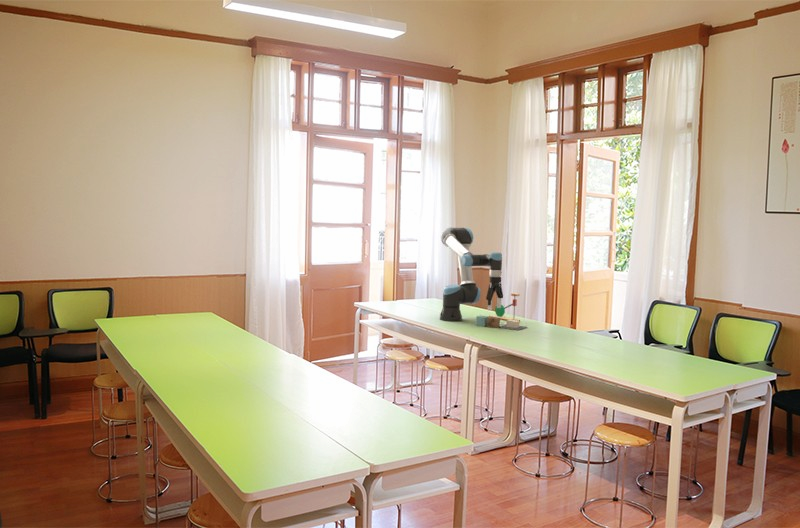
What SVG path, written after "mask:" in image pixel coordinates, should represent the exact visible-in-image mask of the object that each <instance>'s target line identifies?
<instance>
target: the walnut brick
mask: <svg viewBox="0 0 800 528" xmlns="http://www.w3.org/2000/svg"><path fill="white" fill-rule="evenodd" d="M500 323H501V320H500V318H497V317H488V318H487V326H486V327H487V328H494V329H499V328H498V327H500V326H501V325H500Z"/></svg>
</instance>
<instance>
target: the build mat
mask: <svg viewBox="0 0 800 528" xmlns="http://www.w3.org/2000/svg"><path fill="white" fill-rule="evenodd" d="M520 323H521V320H520V321H516V320H507V321H506V324H507V325H503V326H502V325H500V327H498V328H497V329H505V330H512V331H513V330H514V331H521V330H524V329H526V328H528V326H523V325H521V324H520Z"/></svg>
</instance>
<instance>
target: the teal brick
mask: <svg viewBox="0 0 800 528" xmlns="http://www.w3.org/2000/svg"><path fill="white" fill-rule="evenodd" d="M488 317H489V315H476V317H475V318H476V319H475V320H476V321H475V325H476V326H477V327H487V318H488Z"/></svg>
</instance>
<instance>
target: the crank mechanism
mask: <svg viewBox="0 0 800 528" xmlns="http://www.w3.org/2000/svg"><path fill="white" fill-rule="evenodd" d="M510 296H512V297H514V298H512V303H511V304H509V305H507V306H505V307H504V305H503V304H501V308H497V305H496V306H495V309H494V311H495V314H492V315H490V314H489V315H488V316H489V317H497V318H500V321H504V322H507V320H516V321H520V322H521V319H517V318H514V317H506V316H504V315H505V313H506V312H505V311H506V309H507V308H509V307H511V306H513V316H515V315H516V314H515V313H516V312H515V310H516V307H517V305H518V303H517V302H518V299H517V298H516V297H519V296H520V293H516V292H513V293H512V292H511V294H510Z"/></svg>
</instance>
